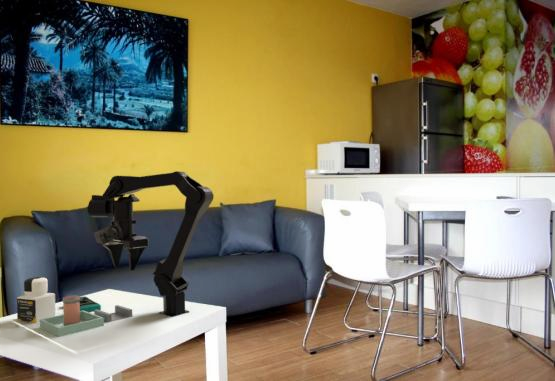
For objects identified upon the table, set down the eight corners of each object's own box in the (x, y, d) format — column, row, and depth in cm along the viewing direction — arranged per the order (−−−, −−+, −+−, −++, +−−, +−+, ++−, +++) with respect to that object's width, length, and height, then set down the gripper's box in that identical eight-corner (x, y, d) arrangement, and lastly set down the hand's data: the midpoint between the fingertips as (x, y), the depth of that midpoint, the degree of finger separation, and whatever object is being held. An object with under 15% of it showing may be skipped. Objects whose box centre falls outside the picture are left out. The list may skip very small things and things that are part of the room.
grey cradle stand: (132, 317, 137) (132, 309, 137) (108, 323, 131) (108, 315, 131) (118, 313, 142) (117, 305, 142) (94, 318, 137) (94, 310, 137)
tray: (103, 327, 128) (103, 317, 128) (58, 338, 119) (58, 328, 119) (83, 319, 136) (83, 310, 136) (39, 328, 127) (39, 319, 127)
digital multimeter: (86, 303, 156) (86, 294, 156) (101, 312, 144) (101, 303, 144) (62, 307, 151) (62, 298, 151) (76, 317, 140) (76, 307, 140)
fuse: (83, 326, 128) (82, 296, 128) (67, 330, 125) (67, 299, 125) (76, 323, 131) (75, 294, 131) (60, 327, 128) (60, 297, 128)
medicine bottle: (16, 322, 134) (15, 279, 134) (37, 315, 141) (37, 275, 141) (35, 324, 132) (34, 281, 132) (56, 317, 138) (55, 276, 138)
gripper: (82, 217, 144) (83, 269, 144) (113, 220, 131) (115, 276, 131) (116, 215, 152) (117, 264, 152) (149, 217, 139) (150, 270, 140)
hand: (124, 268), depth 144 cm, fingers open, 9 cm apart
